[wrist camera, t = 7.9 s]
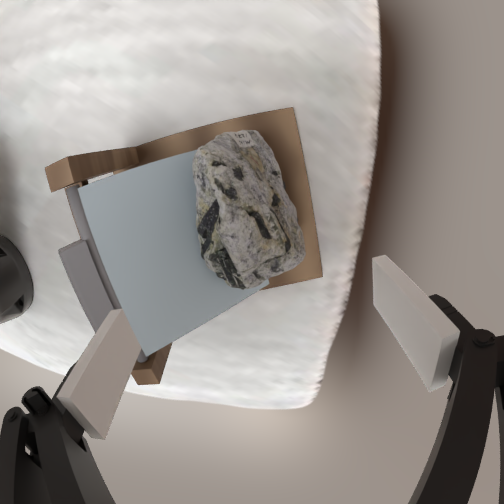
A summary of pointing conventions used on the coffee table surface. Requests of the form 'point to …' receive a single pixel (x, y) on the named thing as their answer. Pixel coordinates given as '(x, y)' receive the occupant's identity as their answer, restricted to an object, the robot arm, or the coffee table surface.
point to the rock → (244, 211)
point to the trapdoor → (145, 254)
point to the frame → (267, 124)
